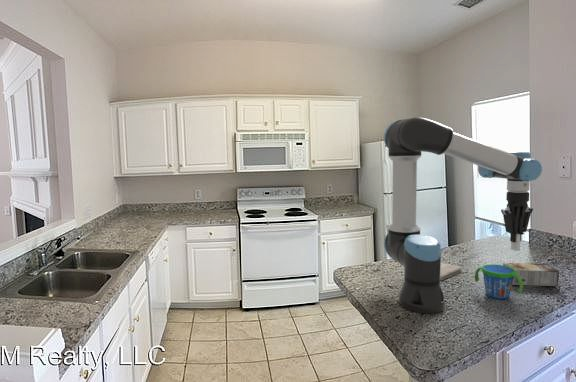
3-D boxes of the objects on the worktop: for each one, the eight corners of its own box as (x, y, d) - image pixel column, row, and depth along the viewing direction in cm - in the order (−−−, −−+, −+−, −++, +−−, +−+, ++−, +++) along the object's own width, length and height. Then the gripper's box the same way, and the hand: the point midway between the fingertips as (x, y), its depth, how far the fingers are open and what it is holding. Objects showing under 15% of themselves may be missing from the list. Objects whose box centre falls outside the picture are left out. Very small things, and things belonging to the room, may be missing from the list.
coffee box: (502, 262, 146) (546, 263, 143) (502, 277, 146) (545, 278, 144) (513, 269, 137) (559, 270, 134) (512, 285, 137) (558, 287, 135)
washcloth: (463, 272, 156) (463, 265, 155) (442, 282, 145) (442, 275, 144) (437, 265, 165) (437, 259, 165) (415, 274, 154) (415, 268, 154)
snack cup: (468, 291, 134) (469, 265, 132) (484, 285, 139) (485, 260, 138) (512, 307, 120) (513, 278, 119) (528, 299, 126) (529, 271, 124)
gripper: (511, 193, 135) (509, 253, 137) (540, 191, 137) (537, 250, 140) (496, 191, 142) (494, 248, 145) (523, 189, 144) (521, 245, 147)
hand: (515, 249), depth 142 cm, fingers closed
